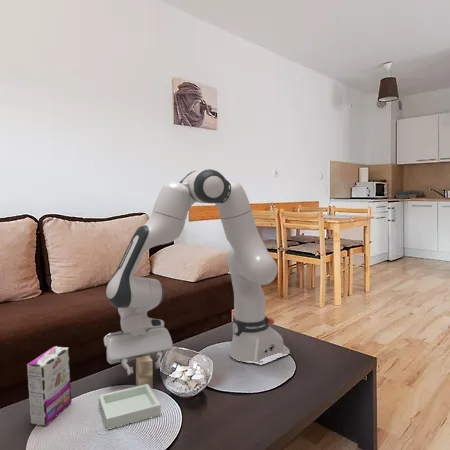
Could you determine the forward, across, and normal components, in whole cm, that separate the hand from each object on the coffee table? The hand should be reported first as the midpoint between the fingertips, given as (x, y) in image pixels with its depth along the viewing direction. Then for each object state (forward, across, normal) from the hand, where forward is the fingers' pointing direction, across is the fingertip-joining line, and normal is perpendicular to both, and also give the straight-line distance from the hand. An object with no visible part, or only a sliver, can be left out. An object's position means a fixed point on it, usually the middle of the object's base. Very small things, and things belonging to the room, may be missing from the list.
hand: (144, 371), depth 116 cm
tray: (+10, -7, -3) cm, 13 cm away
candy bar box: (+5, -26, +3) cm, 27 cm away
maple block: (+3, 0, +4) cm, 5 cm away
